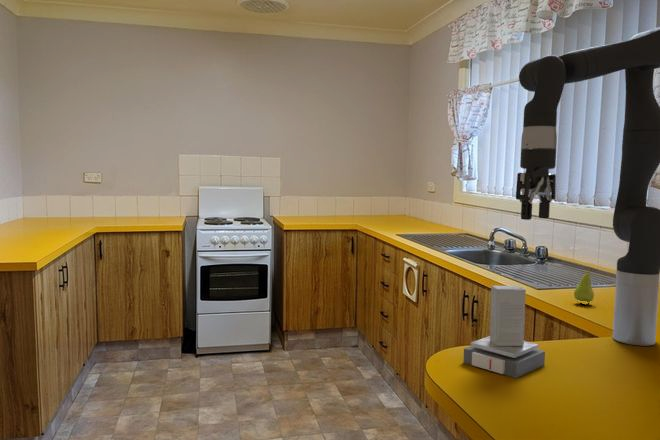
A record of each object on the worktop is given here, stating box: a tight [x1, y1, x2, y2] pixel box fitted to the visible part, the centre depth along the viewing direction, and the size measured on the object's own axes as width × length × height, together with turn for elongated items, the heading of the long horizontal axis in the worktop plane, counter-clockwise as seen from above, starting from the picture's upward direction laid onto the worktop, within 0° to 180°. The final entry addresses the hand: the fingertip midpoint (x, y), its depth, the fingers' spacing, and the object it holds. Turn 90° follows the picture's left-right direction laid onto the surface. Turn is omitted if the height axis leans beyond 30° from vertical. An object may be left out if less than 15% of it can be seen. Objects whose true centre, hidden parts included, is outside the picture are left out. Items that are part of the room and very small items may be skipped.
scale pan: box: [470, 335, 540, 358], centre depth 114 cm, size 10×10×1 cm
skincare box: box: [489, 285, 527, 346], centre depth 114 cm, size 6×4×12 cm
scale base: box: [463, 345, 546, 379], centre depth 114 cm, size 13×12×3 cm
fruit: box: [573, 267, 595, 302], centre depth 173 cm, size 6×6×12 cm
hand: (535, 218), depth 124 cm, fingers open, 8 cm apart
